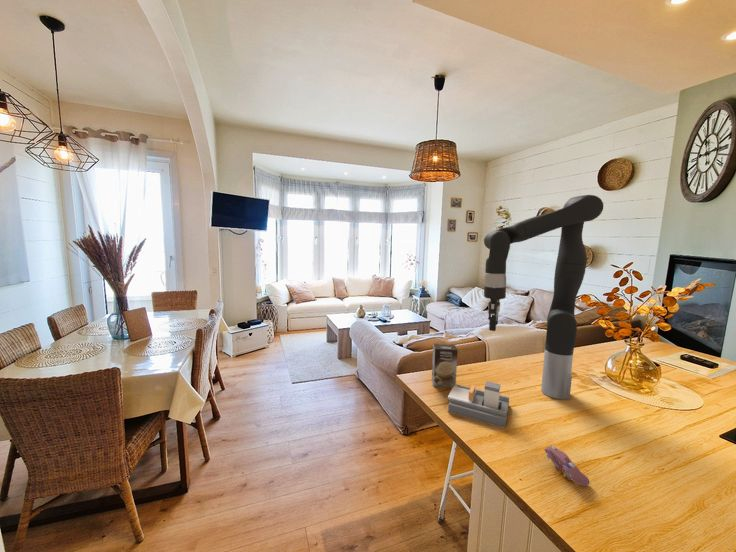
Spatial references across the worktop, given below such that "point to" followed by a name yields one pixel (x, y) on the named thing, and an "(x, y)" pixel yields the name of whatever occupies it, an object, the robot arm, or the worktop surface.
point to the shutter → (463, 393)
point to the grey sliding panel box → (480, 409)
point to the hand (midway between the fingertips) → (493, 327)
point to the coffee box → (444, 365)
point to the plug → (492, 395)
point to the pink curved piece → (566, 465)
